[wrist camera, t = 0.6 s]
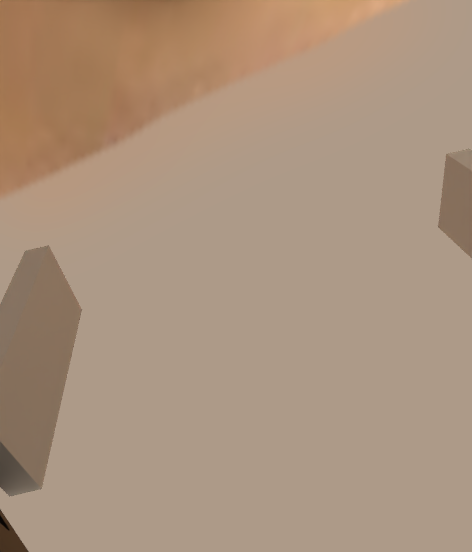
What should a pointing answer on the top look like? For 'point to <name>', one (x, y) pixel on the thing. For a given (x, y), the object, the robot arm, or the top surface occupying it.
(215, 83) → the top surface
